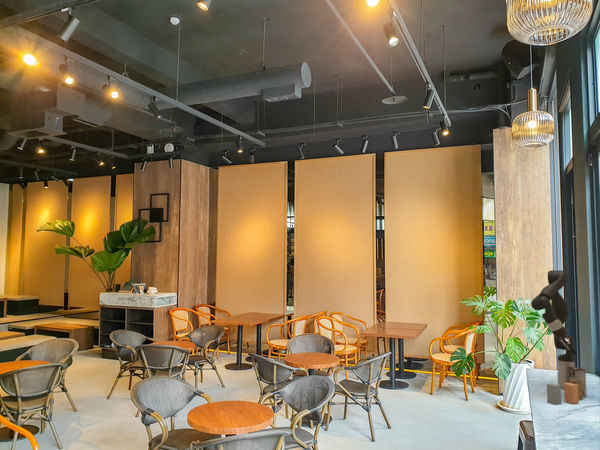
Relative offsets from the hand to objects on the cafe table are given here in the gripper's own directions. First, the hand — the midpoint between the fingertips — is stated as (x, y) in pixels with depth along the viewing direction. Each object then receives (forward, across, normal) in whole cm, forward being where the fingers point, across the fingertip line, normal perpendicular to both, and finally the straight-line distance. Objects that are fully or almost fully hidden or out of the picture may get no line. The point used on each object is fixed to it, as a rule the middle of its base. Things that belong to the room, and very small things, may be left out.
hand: (574, 354), depth 267 cm
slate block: (+14, -14, +26) cm, 33 cm away
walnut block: (+22, 0, +13) cm, 25 cm away
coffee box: (+24, +9, +10) cm, 27 cm away
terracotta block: (+19, -10, +18) cm, 28 cm away
